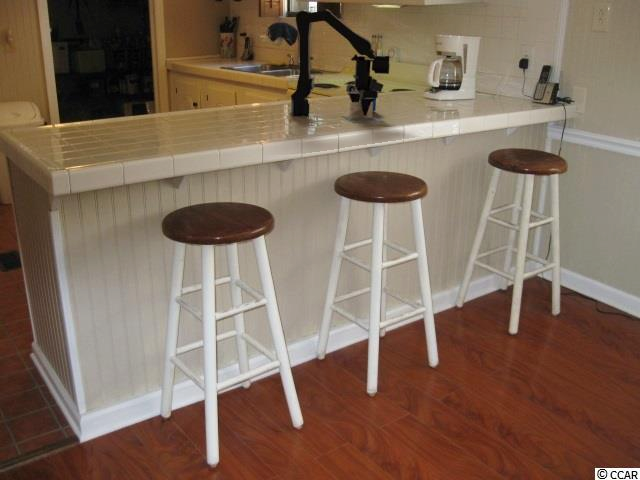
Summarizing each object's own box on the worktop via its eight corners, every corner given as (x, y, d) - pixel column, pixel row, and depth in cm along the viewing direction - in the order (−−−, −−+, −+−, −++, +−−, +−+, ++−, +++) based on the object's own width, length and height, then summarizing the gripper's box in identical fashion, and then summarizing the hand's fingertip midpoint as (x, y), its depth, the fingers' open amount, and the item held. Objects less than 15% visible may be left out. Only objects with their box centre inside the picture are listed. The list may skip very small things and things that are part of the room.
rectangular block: (351, 118, 249) (351, 102, 247) (349, 117, 251) (350, 102, 249) (372, 117, 252) (373, 102, 250) (370, 116, 254) (371, 101, 252)
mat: (354, 123, 241) (354, 122, 241) (341, 117, 253) (341, 116, 253) (385, 122, 245) (385, 121, 245) (371, 116, 257) (371, 115, 257)
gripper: (391, 75, 240) (388, 116, 245) (372, 70, 256) (370, 108, 262) (364, 75, 236) (362, 117, 242) (346, 70, 253) (344, 109, 258)
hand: (360, 113), depth 251 cm, fingers open, 9 cm apart
